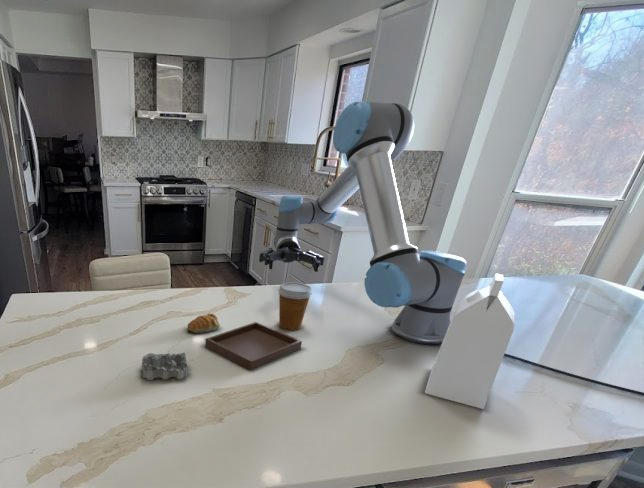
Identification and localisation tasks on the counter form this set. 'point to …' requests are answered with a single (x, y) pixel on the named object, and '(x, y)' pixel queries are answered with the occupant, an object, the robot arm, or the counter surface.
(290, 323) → the disposable coffee cup
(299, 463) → the counter surface
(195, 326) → the pastry
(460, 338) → the milk
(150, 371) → the egg carton
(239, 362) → the serving tray
